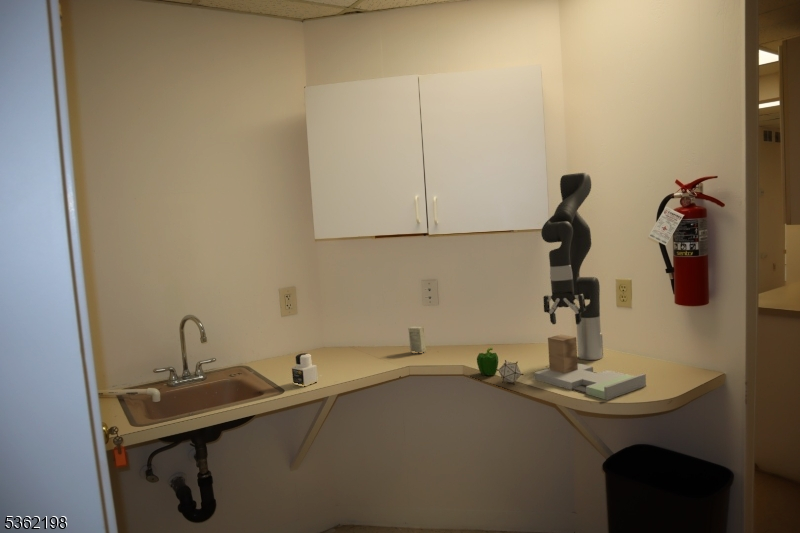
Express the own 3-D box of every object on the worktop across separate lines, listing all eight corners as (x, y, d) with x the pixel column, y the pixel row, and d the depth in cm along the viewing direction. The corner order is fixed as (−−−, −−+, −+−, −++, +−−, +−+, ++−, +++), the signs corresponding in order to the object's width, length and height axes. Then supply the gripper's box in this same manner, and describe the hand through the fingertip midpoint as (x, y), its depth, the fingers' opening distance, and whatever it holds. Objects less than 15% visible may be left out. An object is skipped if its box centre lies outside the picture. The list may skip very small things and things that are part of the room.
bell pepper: (483, 378, 194) (481, 352, 193) (474, 373, 202) (472, 347, 201) (503, 375, 196) (502, 349, 195) (494, 369, 204) (492, 345, 203)
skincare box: (426, 352, 242) (424, 326, 241) (421, 354, 238) (420, 328, 237) (414, 351, 245) (412, 325, 244) (410, 353, 242) (408, 327, 241)
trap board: (571, 368, 198) (571, 358, 198) (646, 385, 172) (645, 374, 171) (534, 379, 188) (533, 368, 188) (607, 399, 161) (606, 387, 161)
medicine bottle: (293, 385, 204) (290, 355, 203) (307, 380, 210) (304, 351, 209) (304, 387, 200) (301, 357, 199) (318, 382, 205) (315, 353, 204)
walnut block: (562, 365, 193) (561, 334, 193) (577, 369, 187) (576, 337, 187) (549, 369, 190) (547, 337, 189) (564, 373, 184) (562, 340, 183)
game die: (510, 394, 184) (499, 377, 179) (499, 380, 192) (488, 363, 187) (530, 380, 184) (520, 363, 180) (519, 367, 192) (509, 349, 187)
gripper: (585, 276, 180) (589, 322, 180) (546, 278, 189) (550, 322, 189) (578, 278, 174) (582, 326, 174) (538, 280, 183) (542, 325, 183)
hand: (565, 324), depth 182 cm, fingers open, 8 cm apart
